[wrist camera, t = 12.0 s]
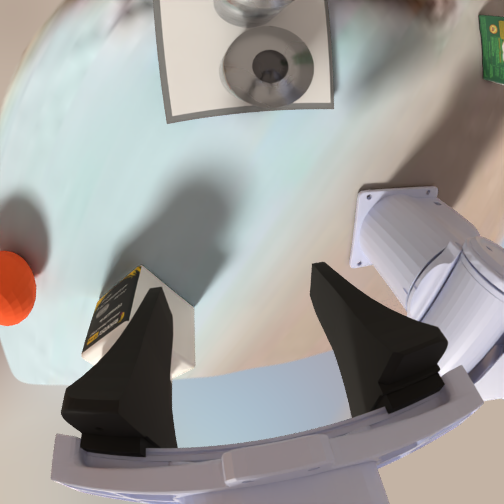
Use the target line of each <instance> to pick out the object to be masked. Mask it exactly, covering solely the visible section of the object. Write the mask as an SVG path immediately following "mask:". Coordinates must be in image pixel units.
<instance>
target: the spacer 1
mask: <svg viewBox="0 0 504 504" xmlns="http://www.w3.org/2000/svg"><path fill="white" fill-rule="evenodd" d="M293 1H295V0H213V4H214V8H215V10H216V12H217V14H218V15H219V16H220V17H221V18H222V19H223V20H225V21H226V22H228V23H230V24H232V25H235V26H238V27H246V28H250V27H257V26H261V25H263V24H266V23H268V22H269V21H270V20H272V19H273V18H274V17H275V16H276V15H278V14H279V13H280V12H281V11H282V10H284V9H285V8H286V7H287V6H288V5H290V4H291V3H292V2H293Z"/></svg>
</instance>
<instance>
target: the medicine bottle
mask: <svg viewBox="0 0 504 504" xmlns="http://www.w3.org/2000/svg"><path fill="white" fill-rule="evenodd" d="M155 287H162V288H163V291H164V294H165V297H166V299H167V302H168V305H169V308H170V310H171V313H172V316H173V346H172V358H171V371H170V388H171V403H172V379H173V378H175V377H177V376H179V375H181V374H183V373H185V372H187V371H189V370H191V369H193V368H194V367H195V327H194V307H193V306H191V305H190V304H189V303H188V302H186V301H185V300H184V299H183V298H181V297H180V296H179V295H178V294H176V293H175V292H174V291H173V290H171V289H170V288H169V287H168V286H167V285H165V284H164V283H163V282H162V281H161V280H159V279H158V278H157V277H156V276H155V275H153V274H152V273H151V272H150V271H149V270H148V269H146V268H145V267H144V266H142V265H139V266H138V267H137V268H135V269H134V270H133V271H132V272H131V273H130V274H128V275H127V276H126V277H125V278H124V279H123V280H121V281H120V282H119V283H118V284H117V285H116V286H114V287H113V288H112V289H111V290H110V291H109V292H108V293H106V294H105V295H104V296H103V297H102V298H101V299H100V300H99V301H98V302H97V305H96V308H95V311H94V314H93V317H92V320H91V324H90V327H89V330H88V333H87V337H86V340H85V344H84V347H83V351H82V358H83V359H84V360H86V361H88V362H89V363H91V364H93V365H95V364H96V363H97V362H98V361H99V360H100V359H101V358H102V357H103V356H104V355H105V354H106V353H107V352H108V351H109V349H110V348H111V347H112V346H113V345H114V343H115V342H116V341H117V339H118V338H119V337H120V335H121V334H122V332H123V331H124V329H125V328H126V327H127V325H128V324H129V322H130V320H131V319H132V317H133V316H134V314H135V312H136V311H137V309H138V307H139V306H140V304H141V302H142V301H143V299H144V297H145V295H146V294H147V292H148V290H149V289H150V288H155Z"/></svg>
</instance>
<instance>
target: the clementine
mask: <svg viewBox="0 0 504 504" xmlns="http://www.w3.org/2000/svg"><path fill="white" fill-rule="evenodd" d="M35 299H36V283H35V278H34V275H33V272H32V270H31V268H30V267H29V265H28V264H27V262H26V261H25V260H24V259H23V258H22V257H20V256H19V255H17V254H16V253H14V252H10V251H0V325H4V326H10V325H15V324H18V323H20V322H21V321H22V320H24V319H25V318H26V317H27V316H28V315H29V313H30V312H31V310H32V308H33V306H34V302H35Z"/></svg>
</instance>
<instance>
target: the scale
mask: <svg viewBox="0 0 504 504" xmlns="http://www.w3.org/2000/svg"><path fill="white" fill-rule="evenodd" d="M153 6H154V20H155V32H156V42H157V52H158V61H159V70H160V78H161V86H162V94H163V101H164V108H165V115H166V121H167V124H170V123H175V122H181V121H186V120H192V119H199V118H205V117H213V116H220V115H228V114H238V113H248V112H259V111H274V110H295V109H334V91H333V65H332V47H331V33H330V22H329V11H328V2H327V0H295V1H293V2H292V3H291V4H290V5H288V6H287V7H286V8H285V9H284V10H282V11H281V12H280V13H279V14H278V15H276V16H275V17H274V18H273V19H272V20H270V21H269V22H268V23H266V24H263V25H261V26H275V27H280V28H283V29H286V30H288V31H290V32H292V33H294V34H295V35H297V36H298V37H299V38H300V39H301V40H302V41H303V42H304V43H305V44H306V45H307V47H308V48H309V50H310V52H311V55H312V58H313V62H314V75H313V79H312V82H311V84H310V86H309V88H308V90H307V91H306V92H305V94H304V95H303V96H302V97H300V98H299V99H298V100H297V101H295V102H293V103H291V104H289V105H287V106H284V107H279V108H262V107H257V106H254V105H252V104H249V103H247V102H245V101H243V100H240V99H238V98H236V97H234V96H233V95H231V94H230V93H229V92H228V91H227V90H226V89H225V88H224V86H223V85H222V82H221V80H220V76H219V66H220V62H221V60H222V58H223V56H224V54H225V53H226V51H227V49H228V48H229V46H230V45H231V43H232V42H233V41H234V40H235V39H236V38H237V37H238V36H239V35H240V34H242V33H244V32H245V31H247V30H250V29H252V28H255V27H250V28H246V27H238V26H235V25H232V24H230V23H228V22H226V21H225V20H223V19H222V18H221V17H220V16H219V15H218V14H217V12H216V10H215V8H214V4H213V0H153ZM257 27H260V26H257Z"/></svg>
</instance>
